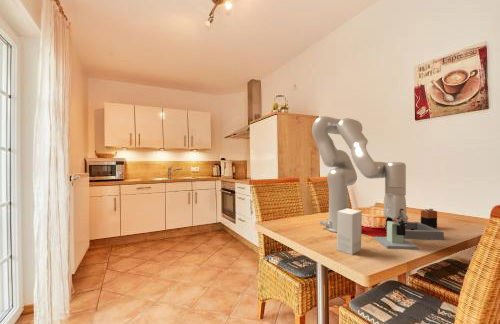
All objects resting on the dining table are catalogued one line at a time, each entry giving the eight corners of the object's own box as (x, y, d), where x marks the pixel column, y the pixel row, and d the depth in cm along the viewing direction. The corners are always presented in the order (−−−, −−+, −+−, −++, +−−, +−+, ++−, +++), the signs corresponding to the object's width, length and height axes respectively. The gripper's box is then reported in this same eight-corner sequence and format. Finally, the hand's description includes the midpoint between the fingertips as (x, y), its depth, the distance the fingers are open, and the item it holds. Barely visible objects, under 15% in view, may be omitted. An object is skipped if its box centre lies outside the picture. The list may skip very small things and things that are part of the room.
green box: (391, 242, 98) (392, 223, 98) (386, 239, 102) (386, 221, 102) (403, 243, 97) (403, 224, 97) (397, 239, 102) (397, 221, 102)
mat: (387, 248, 94) (387, 245, 94) (374, 238, 106) (374, 236, 106) (418, 249, 93) (418, 246, 93) (401, 239, 105) (401, 237, 105)
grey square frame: (401, 238, 107) (401, 230, 107) (382, 227, 125) (382, 221, 125) (443, 239, 105) (443, 232, 105) (418, 228, 123) (418, 222, 123)
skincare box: (346, 245, 97) (346, 208, 97) (362, 250, 92) (363, 210, 92) (336, 250, 91) (336, 210, 91) (352, 255, 86) (353, 213, 86)
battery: (437, 228, 125) (437, 209, 125) (428, 229, 123) (428, 210, 123) (429, 226, 129) (429, 208, 129) (420, 227, 127) (420, 208, 127)
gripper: (376, 188, 109) (376, 226, 109) (396, 193, 91) (396, 238, 91) (393, 189, 108) (393, 226, 108) (417, 193, 91) (417, 238, 91)
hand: (394, 231), depth 100 cm, fingers open, 8 cm apart
